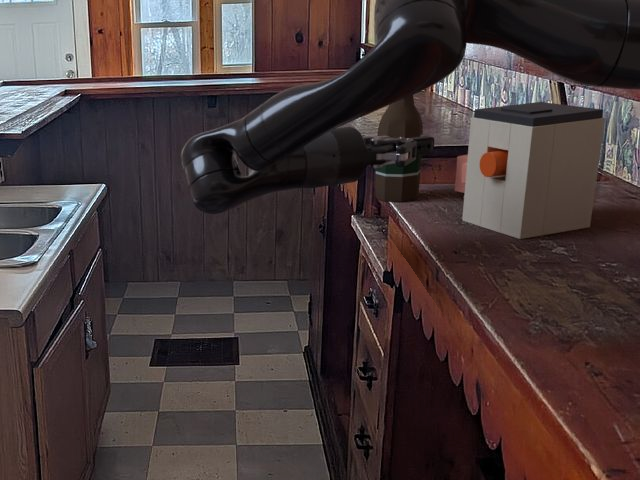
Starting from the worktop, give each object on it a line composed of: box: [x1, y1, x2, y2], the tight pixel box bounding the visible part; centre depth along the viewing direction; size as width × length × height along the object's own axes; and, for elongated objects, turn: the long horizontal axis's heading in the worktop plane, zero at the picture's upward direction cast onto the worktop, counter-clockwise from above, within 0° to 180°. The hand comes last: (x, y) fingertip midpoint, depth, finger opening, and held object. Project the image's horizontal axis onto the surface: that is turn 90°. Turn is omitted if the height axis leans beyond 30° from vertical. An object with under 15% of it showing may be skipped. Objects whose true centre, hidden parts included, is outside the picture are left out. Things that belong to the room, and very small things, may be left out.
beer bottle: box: [374, 95, 424, 203], centre depth 149 cm, size 8×8×24 cm
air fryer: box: [461, 101, 606, 240], centre depth 130 cm, size 13×13×18 cm
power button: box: [480, 150, 508, 177], centre depth 128 cm, size 4×4×4 cm
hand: (430, 143), depth 122 cm, fingers closed
